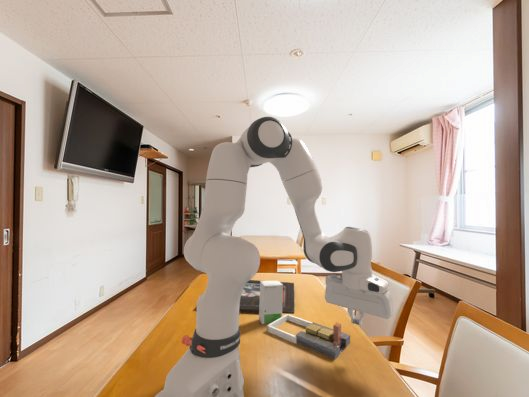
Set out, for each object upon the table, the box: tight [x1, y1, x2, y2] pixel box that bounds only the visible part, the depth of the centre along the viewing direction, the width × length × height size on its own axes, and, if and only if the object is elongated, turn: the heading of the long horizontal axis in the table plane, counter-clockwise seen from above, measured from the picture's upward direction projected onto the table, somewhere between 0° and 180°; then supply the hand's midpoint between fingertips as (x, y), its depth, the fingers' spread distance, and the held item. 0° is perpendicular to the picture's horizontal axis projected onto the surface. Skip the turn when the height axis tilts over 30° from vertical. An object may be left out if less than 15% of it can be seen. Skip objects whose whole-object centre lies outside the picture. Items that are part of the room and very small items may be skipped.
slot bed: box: [295, 321, 351, 360], centre depth 85 cm, size 12×14×4 cm
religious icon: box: [195, 279, 295, 315], centre depth 129 cm, size 40×45×3 cm
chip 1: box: [305, 322, 322, 337], centre depth 87 cm, size 4×4×4 cm
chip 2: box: [318, 328, 333, 343], centre depth 84 cm, size 4×4×4 cm
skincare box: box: [258, 280, 283, 325], centre depth 102 cm, size 8×7×16 cm
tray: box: [266, 313, 313, 344], centre depth 93 cm, size 13×12×3 cm
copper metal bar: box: [332, 322, 342, 347], centre depth 82 cm, size 4×2×7 cm, turn 141°
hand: (356, 323), depth 78 cm, fingers closed
